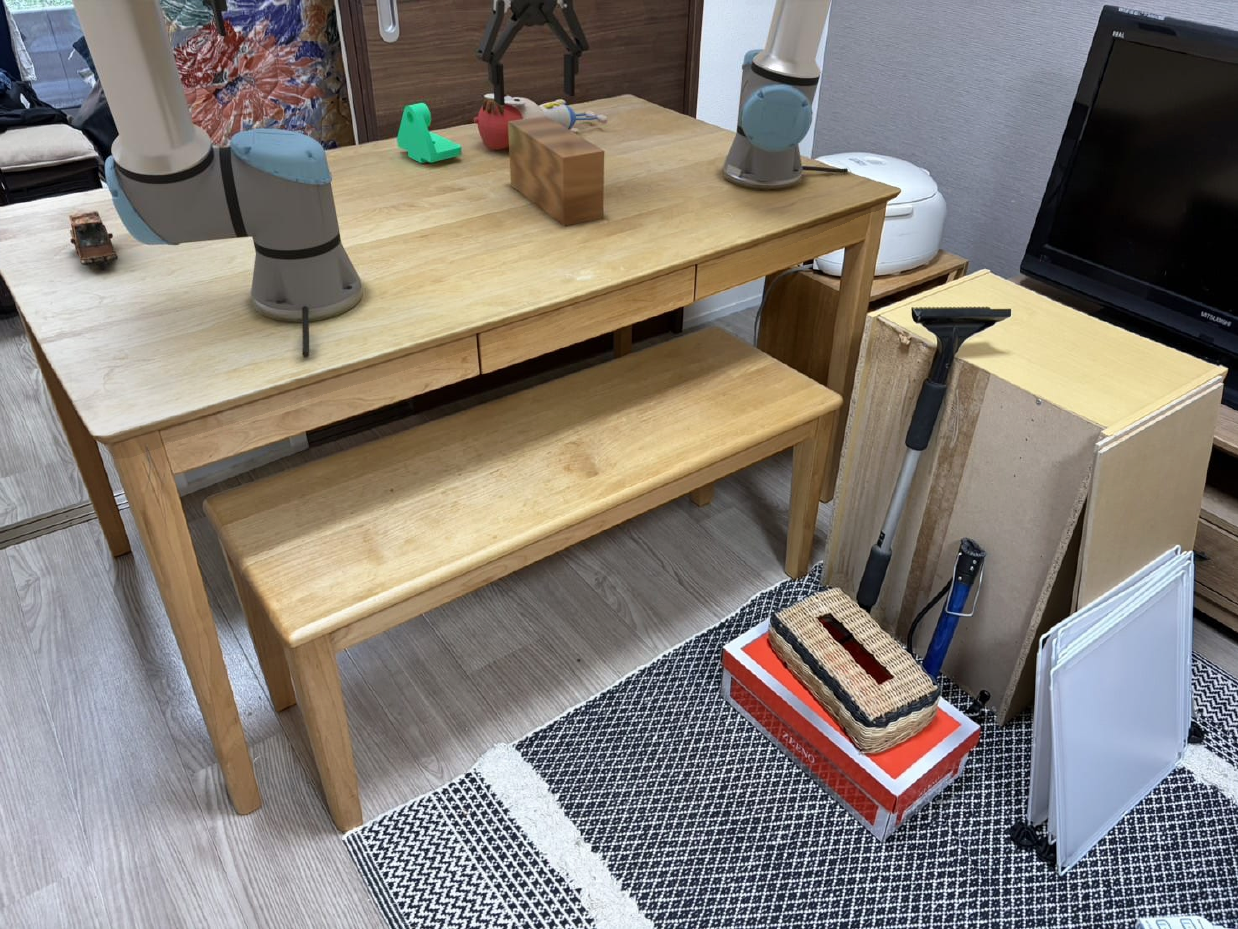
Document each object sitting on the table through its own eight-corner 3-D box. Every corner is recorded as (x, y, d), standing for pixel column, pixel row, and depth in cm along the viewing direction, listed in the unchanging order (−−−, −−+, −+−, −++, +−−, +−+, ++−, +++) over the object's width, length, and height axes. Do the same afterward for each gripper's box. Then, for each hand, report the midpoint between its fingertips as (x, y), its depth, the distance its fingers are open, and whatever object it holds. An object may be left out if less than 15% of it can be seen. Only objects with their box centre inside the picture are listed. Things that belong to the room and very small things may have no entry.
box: (603, 218, 162) (604, 150, 155) (563, 226, 159) (563, 157, 151) (547, 178, 177) (546, 115, 169) (510, 185, 173) (507, 121, 166)
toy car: (108, 240, 149) (95, 198, 145) (131, 265, 142) (117, 222, 137) (65, 249, 146) (50, 207, 141) (86, 276, 138) (71, 232, 134)
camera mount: (464, 159, 183) (460, 106, 177) (431, 168, 179) (426, 113, 173) (430, 144, 190) (425, 92, 184) (398, 151, 186) (392, 98, 180)
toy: (626, 100, 192) (495, 101, 177) (622, 150, 197) (495, 156, 182) (581, 87, 205) (455, 87, 190) (578, 134, 210) (456, 138, 195)
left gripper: (222, -127, 139) (252, 26, 151) (36, -124, 128) (84, 41, 141) (234, -123, 134) (264, 35, 146) (41, -120, 123) (91, 51, 135)
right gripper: (588, -45, 158) (586, 85, 170) (450, -37, 147) (460, 101, 160) (610, -38, 152) (607, 95, 165) (469, -29, 142) (477, 112, 155)
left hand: (176, 38), depth 143 cm, fingers open, 13 cm apart
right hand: (534, 98), depth 163 cm, fingers open, 13 cm apart
